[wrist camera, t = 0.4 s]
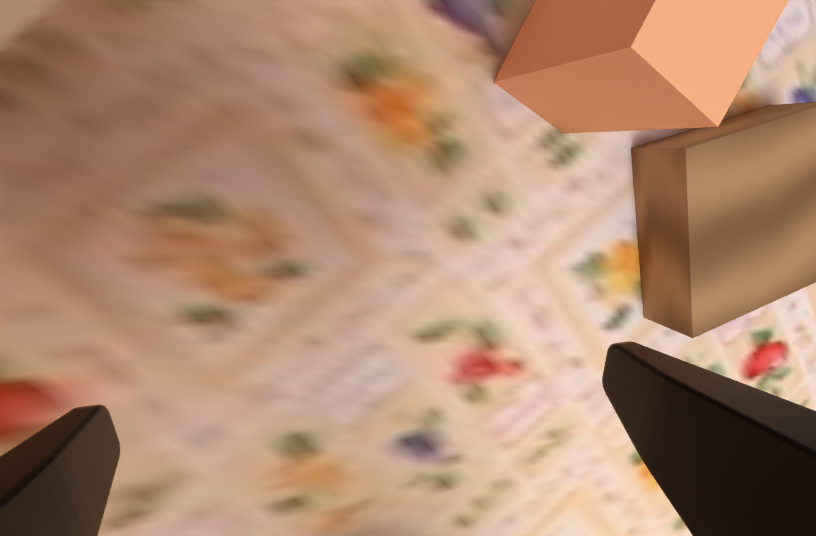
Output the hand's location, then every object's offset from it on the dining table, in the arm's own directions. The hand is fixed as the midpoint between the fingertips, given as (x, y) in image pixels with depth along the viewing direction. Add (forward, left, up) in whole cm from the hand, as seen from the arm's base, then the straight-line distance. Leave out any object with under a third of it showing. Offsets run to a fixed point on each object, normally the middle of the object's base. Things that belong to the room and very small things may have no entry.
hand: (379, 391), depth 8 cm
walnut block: (-6, -25, -15) cm, 30 cm away
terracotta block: (+5, -15, -15) cm, 22 cm away
